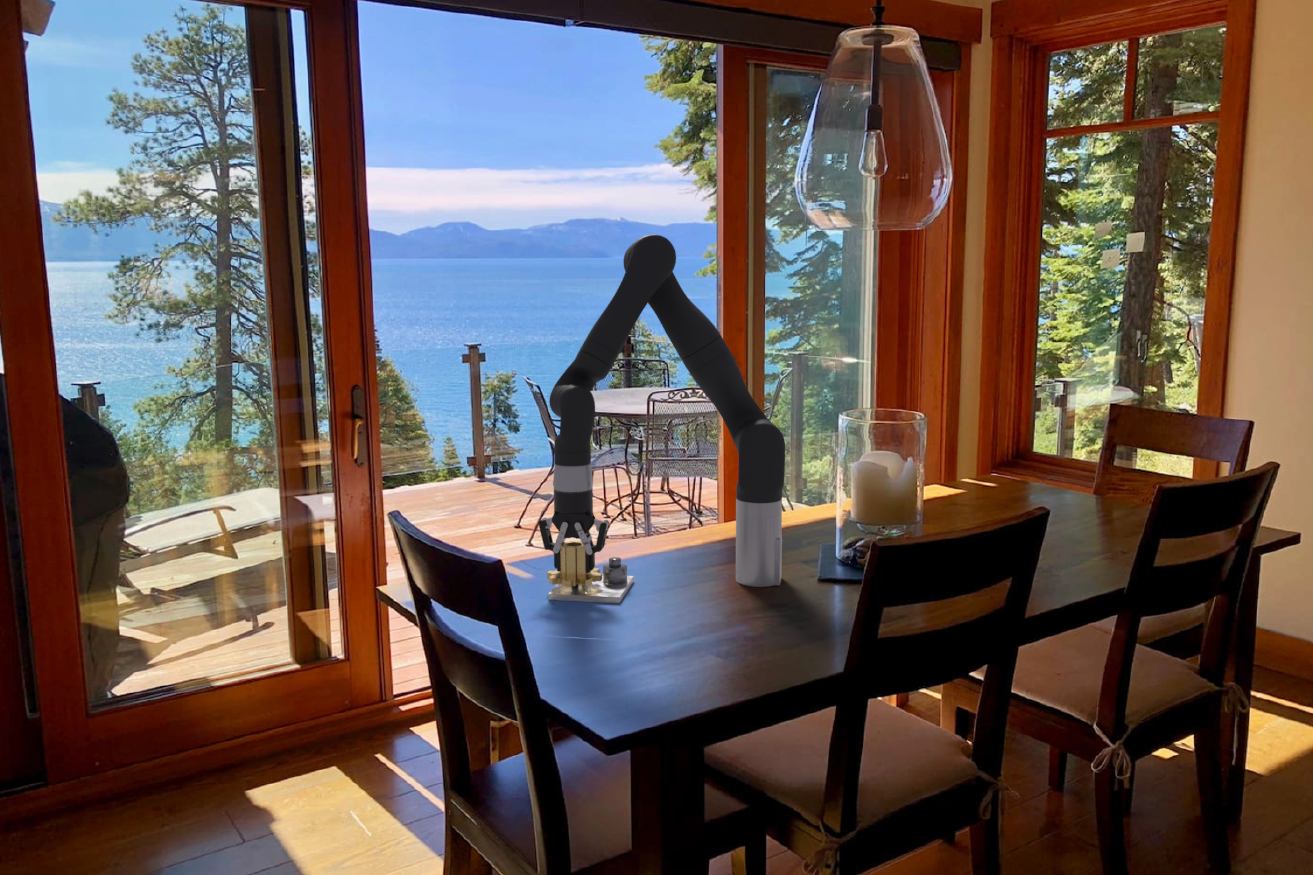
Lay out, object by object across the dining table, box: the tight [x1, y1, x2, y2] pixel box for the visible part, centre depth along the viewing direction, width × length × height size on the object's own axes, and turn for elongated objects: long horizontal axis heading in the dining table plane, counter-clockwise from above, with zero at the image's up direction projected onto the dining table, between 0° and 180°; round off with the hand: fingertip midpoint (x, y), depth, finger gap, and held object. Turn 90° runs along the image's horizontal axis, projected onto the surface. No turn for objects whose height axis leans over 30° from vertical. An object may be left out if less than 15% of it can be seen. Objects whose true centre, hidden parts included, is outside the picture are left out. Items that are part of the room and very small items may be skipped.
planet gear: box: [546, 540, 603, 587], centre depth 189 cm, size 11×11×7 cm
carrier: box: [547, 556, 635, 604], centre depth 191 cm, size 14×14×6 cm
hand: (574, 570), depth 190 cm, fingers closed on planet gear, 5 cm apart
